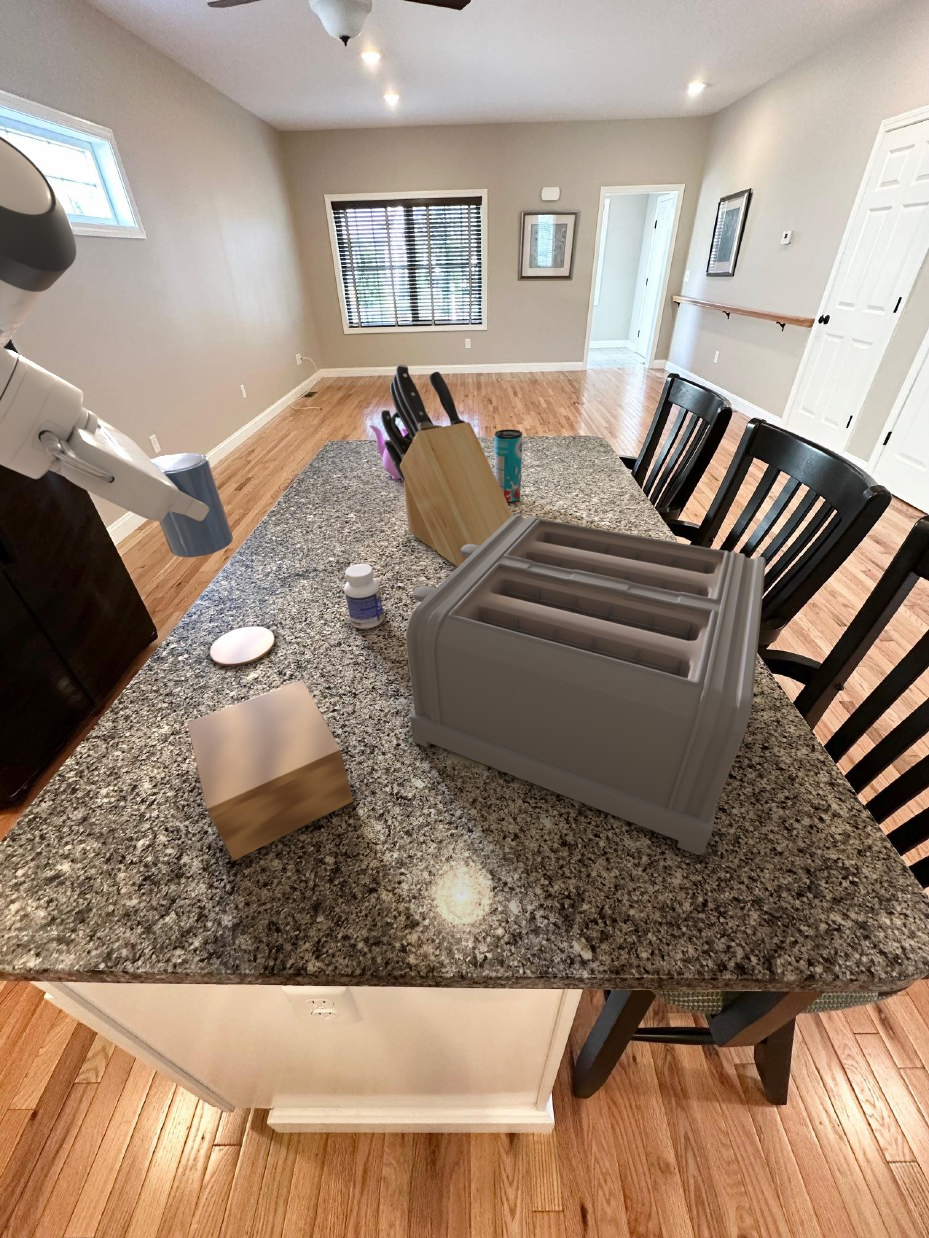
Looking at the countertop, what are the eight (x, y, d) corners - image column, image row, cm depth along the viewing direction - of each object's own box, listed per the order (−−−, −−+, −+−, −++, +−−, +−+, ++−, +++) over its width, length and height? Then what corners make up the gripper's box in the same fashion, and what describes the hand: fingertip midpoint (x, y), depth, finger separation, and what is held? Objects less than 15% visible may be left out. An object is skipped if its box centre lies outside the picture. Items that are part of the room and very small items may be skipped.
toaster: (492, 602, 83) (492, 500, 73) (732, 662, 69) (772, 547, 59) (383, 730, 61) (362, 609, 51) (702, 857, 47) (758, 724, 37)
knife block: (433, 506, 116) (422, 354, 99) (531, 568, 92) (540, 381, 74) (388, 518, 112) (368, 361, 94) (479, 587, 87) (475, 392, 69)
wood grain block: (233, 861, 48) (206, 809, 44) (211, 773, 57) (187, 722, 52) (353, 801, 53) (340, 749, 49) (317, 728, 62) (302, 678, 57)
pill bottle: (387, 624, 79) (380, 574, 74) (354, 633, 77) (344, 582, 72) (379, 607, 83) (372, 558, 78) (347, 615, 81) (337, 565, 76)
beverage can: (517, 506, 115) (519, 437, 107) (491, 503, 117) (491, 436, 108) (522, 496, 120) (525, 430, 111) (498, 494, 121) (498, 428, 113)
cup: (174, 563, 53) (140, 478, 48) (167, 540, 58) (135, 460, 52) (238, 547, 56) (212, 464, 51) (226, 526, 60) (202, 448, 55)
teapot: (361, 479, 132) (354, 431, 125) (389, 462, 143) (384, 417, 136) (430, 488, 126) (427, 438, 119) (454, 470, 136) (452, 422, 129)
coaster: (216, 674, 71) (215, 672, 70) (205, 641, 77) (205, 639, 77) (281, 651, 74) (281, 649, 74) (266, 621, 81) (265, 619, 80)
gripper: (68, 413, 37) (241, 505, 47) (43, 376, 50) (183, 454, 61) (26, 488, 37) (207, 563, 48) (12, 431, 51) (156, 499, 61)
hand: (193, 501), depth 54 cm, fingers closed on cup, 6 cm apart
